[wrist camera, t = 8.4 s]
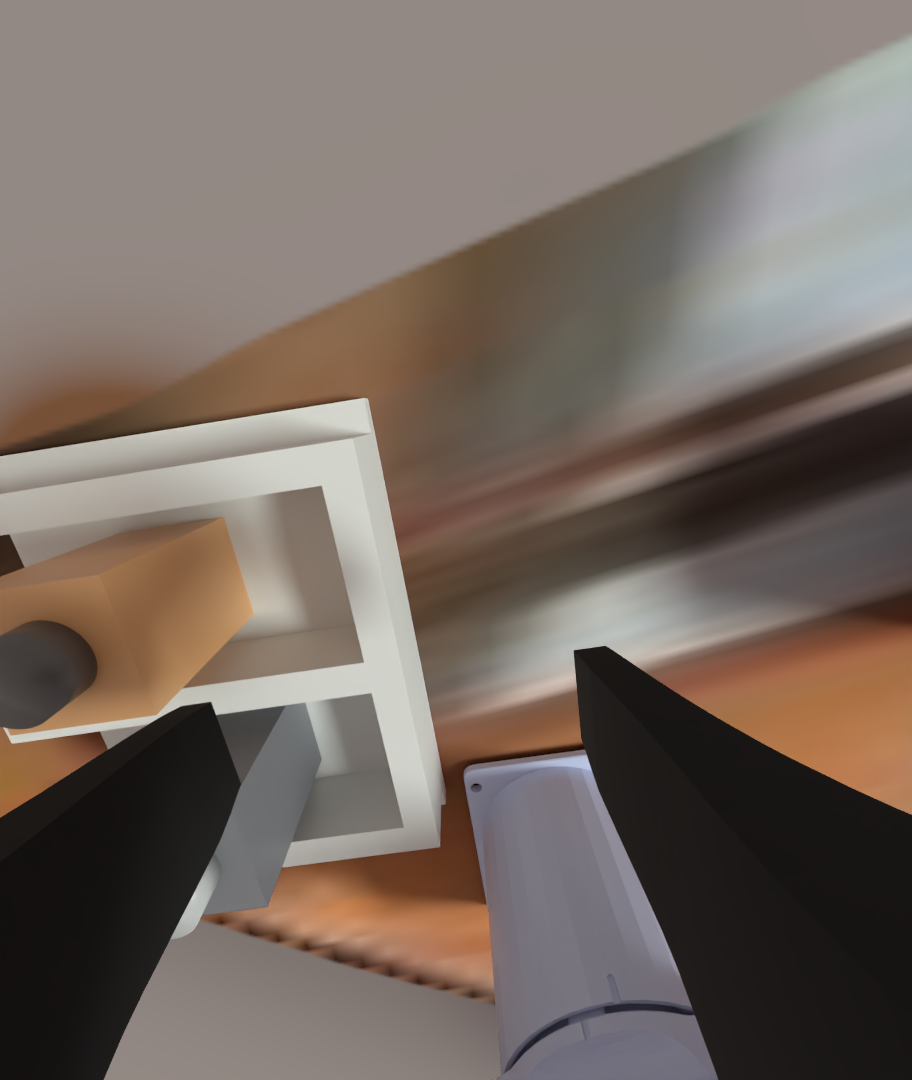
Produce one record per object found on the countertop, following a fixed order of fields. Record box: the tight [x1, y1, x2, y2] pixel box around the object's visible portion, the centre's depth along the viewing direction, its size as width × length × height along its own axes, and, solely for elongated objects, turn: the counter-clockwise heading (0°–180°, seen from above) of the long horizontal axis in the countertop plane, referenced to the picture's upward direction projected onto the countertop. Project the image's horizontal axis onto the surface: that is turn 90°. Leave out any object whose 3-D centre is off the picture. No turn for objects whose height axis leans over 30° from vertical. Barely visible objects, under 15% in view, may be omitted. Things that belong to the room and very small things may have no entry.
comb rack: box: [0, 398, 446, 868], centre depth 17 cm, size 18×14×4 cm
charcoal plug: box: [170, 703, 322, 940], centre depth 15 cm, size 4×4×7 cm
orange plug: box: [0, 517, 254, 736], centre depth 13 cm, size 4×4×7 cm
